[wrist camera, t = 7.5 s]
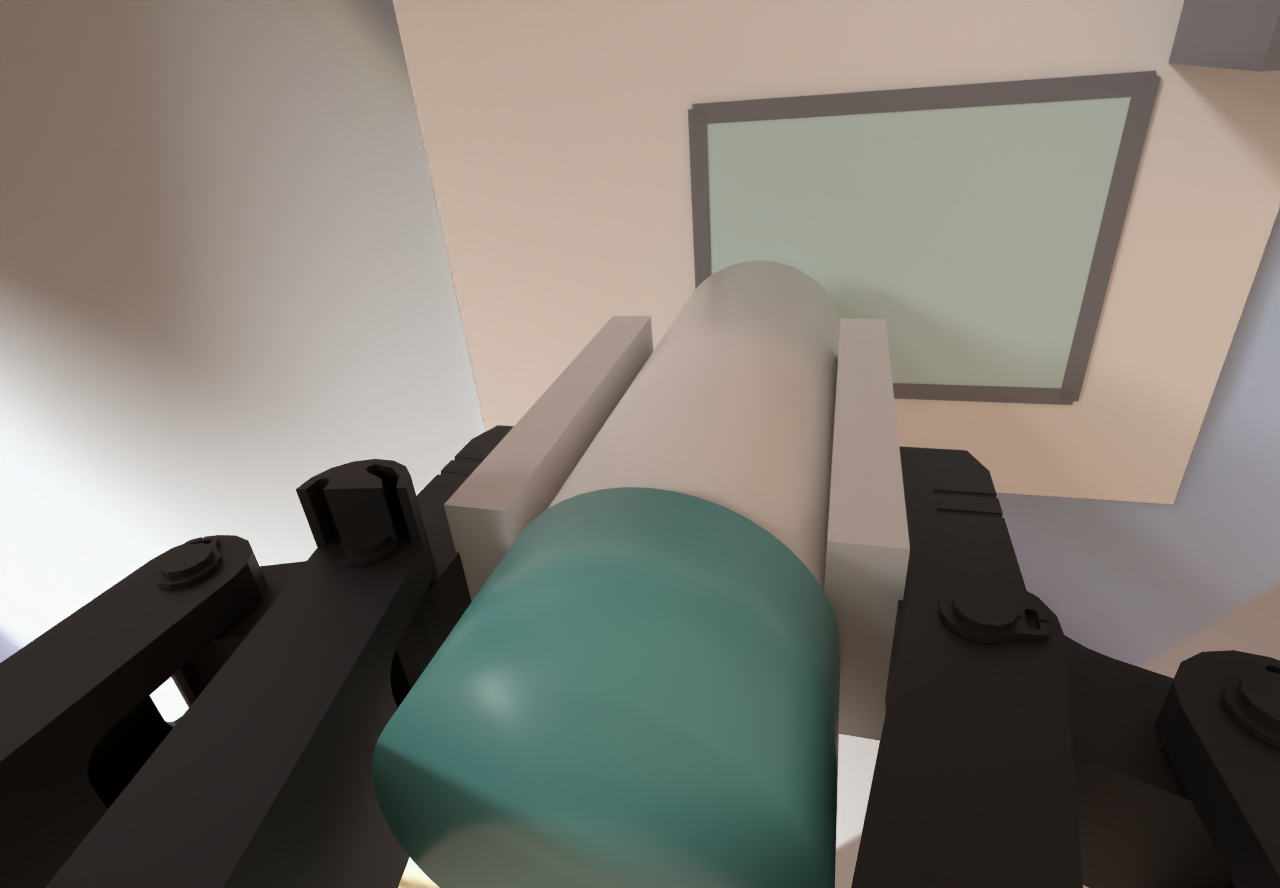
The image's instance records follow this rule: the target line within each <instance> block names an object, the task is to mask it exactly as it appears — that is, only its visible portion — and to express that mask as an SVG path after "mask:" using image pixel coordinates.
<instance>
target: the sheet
mask: <svg viewBox="0 0 1280 888" xmlns="http://www.w3.org/2000/svg"><path fill="white" fill-rule="evenodd" d="M1183 4H1184V0H393V5H394V10H395V14H396V19H397V24H398V28H399V33H400V38H401V42H402V47H403V51H404V56H405V61H406V65H407V70H408V75H409V79H410V84H411V88H412V93H413V98H414V102H415V107H416V112H417V116H418V121H419V126H420V130H421V135H422V139H423V144H424V149H425V153H426V158H427V163H428V167H429V172H430V177H431V181H432V186H433V190H434V195H435V200H436V204H437V209H438V214H439V218H440V223H441V227H442V232H443V237H444V241H445V246H446V251H447V255H448V260H449V265H450V269H451V274H452V278H453V283H454V288H455V292H456V297H457V302H458V306H459V311H460V315H461V320H462V325H463V329H464V334H465V339H466V343H467V348H468V353H469V357H470V362H471V366H472V371H473V376H474V380H475V385H476V390H477V394H478V399H479V404H480V408H481V413H482V417H483V422H484V427H485V431H488V430H490V429H492V428H493V427H495V426H497V425H501V426H515V425H516V424H517V422H518V421H519V420H520V419H521V418H522V417H523V416H524V415H525V414H526V412H527V411H528V410H529V409H530V408H531V407H532V406H533V405H534V403H535V402H536V401H537V400H538V399H539V398H540V397H541V396H542V395H543V393H544V392H545V391H546V390H547V389H548V388H549V387H550V386H551V384H552V383H553V382H554V381H555V380H556V379H557V378H558V377H559V376H560V374H561V373H562V372H563V371H564V370H565V369H566V368H567V367H568V365H569V364H570V363H571V362H572V361H573V360H574V359H575V358H576V357H577V355H578V354H579V353H580V352H581V351H582V350H583V349H584V348H585V346H586V345H587V344H588V343H589V342H590V341H591V340H592V339H593V338H594V336H595V335H596V334H597V333H598V332H599V331H600V330H601V329H602V328H603V326H604V325H605V324H606V323H607V322H608V321H609V320H610V319H611V317H612V316H651V323H652V337H653V351H654V349H655V348H656V346H657V345H658V343H659V342H660V341H661V339H662V338H663V336H664V335H665V333H666V332H667V330H668V329H669V327H670V326H671V324H672V323H673V321H674V320H675V318H676V317H677V315H678V314H679V312H680V311H681V309H682V308H683V306H684V305H685V303H686V302H687V300H688V299H689V297H690V296H691V294H692V293H693V292H694V291H695V289H696V288H697V287H698V286H699V285H700V284H701V283H702V282H703V281H704V280H706V279H707V278H708V277H709V276H711V275H712V274H714V273H715V272H717V271H719V270H721V269H723V268H725V267H728V266H731V265H733V264H736V263H741V262H746V261H758V260H760V261H773V262H778V263H782V264H785V265H788V266H791V267H794V268H796V269H798V270H800V271H802V272H804V273H805V274H807V275H808V276H810V277H811V278H813V279H814V280H815V281H816V282H817V283H819V284H820V285H821V286H822V287H823V289H824V290H825V291H826V292H827V293H828V294H829V296H830V297H831V299H832V301H833V302H834V304H835V306H836V308H837V310H838V312H839V315H840V318H849V319H886V325H887V334H888V344H889V354H890V363H891V373H892V382H893V392H894V401H895V411H896V420H897V430H898V439H899V446H901V447H918V448H935V449H952V450H967V451H968V452H969V453H970V454H971V455H972V456H974V457H975V458H976V459H977V460H978V461H979V462H980V463H981V464H982V465H983V466H985V467H986V468H987V469H988V470H989V471H990V475H991V478H992V481H993V484H994V487H995V491H996V493H1009V494H1024V495H1039V496H1054V497H1069V498H1084V499H1099V500H1114V501H1129V502H1144V503H1159V504H1174V501H1175V498H1176V495H1177V492H1178V490H1179V487H1180V484H1181V481H1182V478H1183V476H1184V473H1185V470H1186V467H1187V465H1188V462H1189V459H1190V456H1191V453H1192V451H1193V448H1194V445H1195V442H1196V439H1197V437H1198V434H1199V431H1200V428H1201V426H1202V423H1203V420H1204V417H1205V414H1206V412H1207V409H1208V406H1209V403H1210V400H1211V398H1212V395H1213V392H1214V389H1215V387H1216V384H1217V381H1218V378H1219V375H1220V373H1221V370H1222V367H1223V364H1224V361H1225V359H1226V356H1227V353H1228V350H1229V348H1230V345H1231V342H1232V339H1233V336H1234V334H1235V331H1236V328H1237V325H1238V322H1239V320H1240V317H1241V314H1242V311H1243V309H1244V306H1245V303H1246V300H1247V297H1248V295H1249V292H1250V289H1251V286H1252V283H1253V281H1254V278H1255V275H1256V272H1257V270H1258V267H1259V264H1260V261H1261V258H1262V256H1263V253H1264V250H1265V247H1266V244H1267V242H1268V239H1269V236H1270V233H1271V231H1272V228H1273V225H1274V222H1275V219H1276V217H1277V214H1278V211H1279V208H1280V70H1278V71H1263V72H1259V71H1248V70H1236V69H1225V68H1214V67H1202V66H1191V65H1179V64H1168V62H1169V58H1170V55H1171V51H1172V47H1173V43H1174V39H1175V35H1176V31H1177V27H1178V24H1179V20H1180V16H1181V12H1182V8H1183Z"/></svg>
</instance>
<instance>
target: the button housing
mask: <svg viewBox="0 0 1280 888" xmlns="http://www.w3.org/2000/svg"><path fill="white" fill-rule="evenodd" d="M1168 64H1179V65H1191V66H1202V67H1214V68H1225V69H1236V70H1248V71H1259V72H1263V71H1278V70H1280V0H1184V4H1183V8H1182V12H1181V16H1180V20H1179V24H1178V27H1177V31H1176V35H1175V39H1174V43H1173V47H1172V51H1171V55H1170V58H1169V62H1168Z"/></svg>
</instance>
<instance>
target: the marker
mask: <svg viewBox="0 0 1280 888" xmlns="http://www.w3.org/2000/svg"><path fill="white" fill-rule="evenodd" d="M840 321H841V318H840V315H839V312H838V310H837V308H836V306H835V304H834V302H833V301H832V299H831V297H830V296H829V294H828V293H827V292H826V291H825V290H824V289H823V287H822V286H821V285H820V284H819V283H817V282H816V281H815V280H814V279H813V278H811V277H810V276H808V275H807V274H805V273H804V272H802V271H800V270H798V269H796V268H794V267H791V266H788V265H785V264H782V263H778V262H773V261H760V260H758V261H746V262H741V263H736V264H733V265H731V266H728V267H725V268H723V269H721V270H719V271H717V272H715V273H714V274H712V275H711V276H709V277H708V278H707V279H706V280H704V281H703V282H702V283H701V284H700V285H699V286H698V287H697V288H696V289H695V291H694V292H693V293H692V294H691V296H690V297H689V299H688V300H687V302H686V303H685V305H684V306H683V308H682V309H681V311H680V312H679V314H678V315H677V317H676V318H675V320H674V321H673V323H672V324H671V326H670V327H669V329H668V330H667V332H666V333H665V335H664V336H663V338H662V339H661V341H660V342H659V343H658V345H657V346H656V348H655V349H654V351H653V352H652V354H651V355H650V357H649V358H648V360H647V361H646V363H645V364H644V366H643V367H642V369H641V370H640V372H639V373H638V375H637V376H636V378H635V379H634V381H633V382H632V384H631V385H630V387H629V388H628V390H627V391H626V393H625V394H624V396H623V397H622V398H621V400H620V401H619V403H618V404H617V406H616V407H615V409H614V410H613V412H612V413H611V415H610V416H609V418H608V419H607V421H606V422H605V424H604V425H603V427H602V428H601V430H600V431H599V433H598V434H597V436H596V437H595V439H594V440H593V442H592V443H591V445H590V446H589V448H588V449H587V451H586V452H585V454H584V455H583V456H582V458H581V459H580V461H579V462H578V464H577V465H576V467H575V468H574V470H573V471H572V473H571V474H570V476H569V477H568V479H567V480H566V482H565V483H564V485H563V486H562V488H561V489H560V491H559V492H558V494H557V495H556V497H555V498H554V500H553V501H552V503H551V504H550V506H549V507H548V509H546V510H545V511H543V512H542V513H541V514H539V515H538V516H537V517H536V518H534V519H533V520H532V521H531V522H530V523H529V524H528V525H527V526H526V527H525V528H524V529H523V530H522V532H521V533H520V534H519V535H518V536H517V538H516V539H515V541H514V542H513V544H512V545H511V546H510V548H509V549H508V551H507V552H506V554H505V555H504V557H503V558H502V559H501V561H500V562H499V564H498V565H497V567H496V568H495V569H494V571H493V572H492V574H491V575H490V577H489V578H488V580H487V581H486V582H485V584H484V585H483V587H482V588H481V590H480V591H479V592H478V594H477V595H476V597H475V598H474V600H473V601H472V603H471V604H470V605H469V607H468V608H467V610H466V611H465V613H464V614H463V615H462V617H461V618H460V620H459V621H458V623H457V624H456V626H455V627H454V628H453V630H452V631H451V633H450V634H449V636H448V637H447V638H446V640H445V641H444V643H443V644H442V646H441V647H440V649H439V650H438V651H437V653H436V654H435V656H434V657H433V659H432V660H431V661H430V663H429V664H428V666H427V667H426V669H425V670H424V672H423V673H422V674H421V676H420V677H419V679H418V680H417V682H416V683H415V684H414V686H413V687H412V689H411V690H410V692H409V693H408V695H407V696H406V697H405V699H404V700H403V702H402V703H401V705H400V706H399V707H398V709H397V710H396V712H395V713H394V715H393V716H392V717H391V719H390V720H389V722H388V723H387V725H386V726H385V728H384V730H383V731H382V733H381V735H380V737H379V738H378V740H377V744H376V747H375V750H374V754H373V762H372V777H373V784H374V791H375V794H376V797H377V800H378V803H379V807H380V809H381V811H382V813H383V815H384V818H385V820H386V822H387V824H388V826H389V827H390V829H391V831H392V832H393V834H394V835H395V837H396V838H397V840H398V842H399V843H400V845H401V846H402V847H403V848H404V850H405V851H406V852H407V853H408V855H409V856H410V857H411V858H412V860H413V861H414V862H415V863H416V864H417V865H418V866H419V867H420V868H421V869H422V871H423V872H424V873H425V874H426V875H427V876H428V877H429V878H430V879H431V880H432V881H433V882H434V883H436V884H437V885H438V886H439V887H440V888H835V855H836V816H837V777H838V738H839V699H840V636H839V631H838V625H837V621H836V618H835V616H834V613H833V610H832V607H831V604H830V602H829V600H828V599H827V597H826V595H825V593H824V584H825V567H826V551H827V534H828V518H829V501H830V484H831V468H832V451H833V434H834V418H835V401H836V385H837V368H838V352H839V336H840Z"/></svg>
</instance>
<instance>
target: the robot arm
mask: <svg viewBox="0 0 1280 888" xmlns="http://www.w3.org/2000/svg"><path fill="white" fill-rule="evenodd" d="M652 352H653V337H652V323H651V316H612V317H611V319H610V320H609V321H608V322H607V323H606V324H605V325H604V326H603V328H602V329H601V330H600V331H599V332H598V333H597V334H596V335H595V336H594V338H593V339H592V340H591V341H590V342H589V343H588V344H587V345H586V346H585V348H584V349H583V350H582V351H581V352H580V353H579V354H578V355H577V357H576V358H575V359H574V360H573V361H572V362H571V363H570V364H569V365H568V367H567V368H566V369H565V370H564V371H563V372H562V373H561V374H560V376H559V377H558V378H557V379H556V380H555V381H554V382H553V383H552V384H551V386H550V387H549V388H548V389H547V390H546V391H545V392H544V393H543V395H542V396H541V397H540V398H539V399H538V400H537V401H536V402H535V403H534V405H533V406H532V407H531V408H530V409H529V410H528V411H527V412H526V414H525V415H524V416H523V417H522V418H521V419H520V420H519V421H518V422H517V424H516V425H515V426H501V425H497V426H495V427H493V428H492V429H490V430H488V431H486V432H484V433H483V434H481V435H479V436H477V437H475V438H473V439H472V440H471V441H470V442H469V443H468V444H467V445H466V446H465V447H464V448H463V449H462V450H461V451H460V452H459V453H458V454H457V455H456V456H455V460H451V461H450V462H449V463H448V464H447V465H446V466H445V467H444V468H443V469H442V470H441V475H437V476H436V477H435V478H434V479H433V480H432V481H431V482H430V483H429V484H428V485H427V486H426V487H425V488H424V489H423V490H422V491H421V492H420V493H419V494H418V495H417V496H416V494H415V490H414V486H413V483H412V479H411V476H410V474H409V472H408V470H407V468H406V466H404V465H402V464H399V463H397V462H395V461H391V460H380V459H372V460H363V461H355V462H351V463H347V464H344V465H340V466H337V467H334V468H331V469H329V470H326V471H324V472H322V473H320V474H318V475H316V476H314V477H312V478H310V479H309V480H308V481H306V482H305V483H304V484H303V485H301V486H300V487H299V488H297V489H296V491H297V494H298V496H299V499H300V502H301V504H302V507H303V510H304V512H305V515H306V518H307V520H308V523H309V526H310V528H311V531H312V534H313V536H314V539H315V542H316V544H317V547H318V548H317V549H316V550H315V552H314V553H313V554H312V555H311V557H310V558H309V559H308V560H307V561H304V562H296V563H287V564H278V565H269V566H260V567H259V565H258V562H257V560H256V558H255V555H254V553H253V551H252V548H251V546H250V544H249V542H248V540H245V539H243V538H240V537H238V536H229V535H216V536H208V537H204V538H202V537H201V538H197V539H193V540H190V541H188V542H186V543H185V544H182V545H180V546H177V547H174V548H172V549H170V550H168V551H167V552H165V553H163V554H161V555H159V556H158V557H156V558H154V559H152V560H151V561H149V562H148V563H146V564H145V565H143V566H142V567H140V568H139V569H137V570H136V571H134V572H133V573H132V574H130V575H129V576H127V577H126V578H124V579H123V580H121V581H120V582H118V583H117V584H115V585H114V586H113V587H111V588H110V589H108V590H107V591H105V592H104V593H102V594H101V595H99V596H98V597H96V598H95V599H94V600H92V601H91V602H89V603H88V604H86V605H85V606H83V607H82V608H80V609H79V610H77V611H76V612H75V613H73V614H72V615H70V616H69V617H67V618H66V619H64V620H63V621H61V622H60V623H58V624H57V625H56V626H54V627H53V628H51V629H50V630H48V631H47V632H45V633H44V634H42V635H41V636H39V637H38V638H37V639H35V640H34V641H32V642H31V643H29V644H28V645H26V646H25V647H23V648H22V649H20V650H19V651H18V652H16V653H15V654H13V655H12V656H10V657H9V658H7V659H6V660H4V661H3V662H1V663H0V888H398V886H399V883H400V880H401V878H402V875H403V872H404V870H405V867H406V864H407V862H408V859H409V855H408V853H407V852H406V851H405V850H404V848H403V847H402V846H401V845H400V843H399V842H398V840H397V838H396V837H395V835H394V834H393V832H392V831H391V829H390V827H389V826H388V824H387V822H386V820H385V818H384V815H383V813H382V811H381V809H380V807H379V803H378V800H377V797H376V794H375V791H374V784H373V777H372V762H373V754H374V750H375V747H376V744H377V740H378V738H379V737H380V735H381V733H382V731H383V730H384V728H385V726H386V725H387V723H388V722H389V720H390V719H391V717H392V716H393V715H394V713H395V712H396V710H397V709H398V707H399V706H400V705H401V703H402V702H403V700H404V699H405V697H406V696H407V695H408V693H409V692H410V690H411V689H412V687H413V686H414V684H415V683H416V682H417V680H418V679H419V677H420V676H421V674H422V673H423V672H424V670H425V669H426V667H427V666H428V664H429V663H430V661H431V660H432V659H433V657H434V656H435V654H436V653H437V651H438V650H439V649H440V647H441V646H442V644H443V643H444V641H445V640H446V638H447V637H448V636H449V634H450V633H451V631H452V630H453V628H454V627H455V626H456V624H457V623H458V621H459V620H460V618H461V617H462V615H463V614H464V613H465V611H466V610H467V608H468V607H469V605H470V604H471V603H472V601H473V600H474V598H475V597H476V595H477V594H478V592H479V591H480V590H481V588H482V587H483V585H484V584H485V582H486V581H487V580H488V578H489V577H490V575H491V574H492V572H493V571H494V569H495V568H496V567H497V565H498V564H499V562H500V561H501V559H502V558H503V557H504V555H505V554H506V552H507V551H508V549H509V548H510V546H511V545H512V544H513V542H514V541H515V539H516V538H517V536H518V535H519V534H520V533H521V532H522V530H523V529H524V528H525V527H526V526H527V525H528V524H529V523H530V522H531V521H532V520H533V519H534V518H536V517H537V516H538V515H539V514H541V513H542V512H543V511H545V510H546V509H548V507H549V506H550V504H551V503H552V501H553V500H554V498H555V497H556V495H557V494H558V492H559V491H560V489H561V488H562V486H563V485H564V483H565V482H566V480H567V479H568V477H569V476H570V474H571V473H572V471H573V470H574V468H575V467H576V465H577V464H578V462H579V461H580V459H581V458H582V456H583V455H584V454H585V452H586V451H587V449H588V448H589V446H590V445H591V443H592V442H593V440H594V439H595V437H596V436H597V434H598V433H599V431H600V430H601V428H602V427H603V425H604V424H605V422H606V421H607V419H608V418H609V416H610V415H611V413H612V412H613V410H614V409H615V407H616V406H617V404H618V403H619V401H620V400H621V398H622V397H623V396H624V394H625V393H626V391H627V390H628V388H629V387H630V385H631V384H632V382H633V381H634V379H635V378H636V376H637V375H638V373H639V372H640V370H641V369H642V367H643V366H644V364H645V363H646V361H647V360H648V358H649V357H650V355H651V354H652ZM824 593H825V595H826V597H827V599H828V600H829V602H830V604H831V607H832V610H833V613H834V616H835V618H836V621H837V625H838V631H839V636H840V699H839V734H845V735H851V736H857V737H863V738H869V739H875V740H880V744H879V749H878V755H877V760H876V765H875V770H874V775H873V780H872V785H871V790H870V795H869V800H868V806H867V811H866V816H865V821H864V826H863V831H862V836H861V841H860V846H859V851H858V857H857V862H856V867H855V872H854V877H853V882H852V887H851V888H1083V885H1085V886H1087V887H1089V888H1280V661H1279V660H1276V659H1273V658H1271V657H1265V656H1260V655H1255V654H1249V653H1244V652H1239V651H1234V650H1232V651H1212V652H1201V653H1199V654H1197V655H1195V656H1193V657H1191V658H1189V659H1187V660H1185V661H1183V662H1181V664H1180V666H1179V669H1178V671H1177V673H1176V675H1175V677H1174V679H1173V678H1170V677H1167V676H1164V675H1161V674H1158V673H1155V672H1152V671H1149V670H1146V669H1143V668H1140V667H1137V666H1134V665H1131V664H1128V663H1125V662H1122V661H1119V660H1116V659H1113V658H1110V657H1108V656H1105V655H1103V654H1100V653H1098V652H1095V651H1093V650H1090V649H1088V648H1086V647H1084V646H1082V645H1081V644H1079V643H1077V642H1075V641H1073V640H1072V639H1070V638H1068V637H1066V636H1065V635H1064V634H1063V631H1062V629H1061V626H1060V623H1059V621H1058V618H1057V616H1056V615H1055V614H1054V613H1053V612H1052V611H1051V610H1050V609H1049V608H1048V607H1047V606H1046V605H1045V604H1044V603H1043V602H1042V601H1041V600H1040V599H1039V598H1038V597H1036V596H1035V595H1033V594H1031V593H1029V592H1028V591H1026V588H1025V584H1024V581H1023V578H1022V575H1021V571H1020V568H1019V565H1018V562H1017V558H1016V555H1015V552H1014V549H1013V546H1012V542H1011V539H1010V536H1009V533H1008V529H1007V526H1006V523H1005V520H1004V518H1002V510H1001V507H1000V504H999V500H998V499H997V498H996V491H995V487H994V484H993V481H992V478H991V475H990V471H989V470H988V469H987V468H986V467H985V466H983V465H982V464H981V463H980V462H979V461H978V460H977V459H976V458H975V457H974V456H972V455H971V454H970V453H969V452H968V451H967V450H952V449H935V448H918V447H901V446H899V439H898V430H897V420H896V411H895V401H894V392H893V382H892V373H891V363H890V354H889V344H888V334H887V325H886V319H849V318H841V321H840V336H839V352H838V368H837V385H836V401H835V418H834V434H833V451H832V468H831V484H830V501H829V518H828V534H827V551H826V567H825V584H824ZM170 677H172V678H173V680H174V682H175V684H176V685H177V687H178V689H179V691H180V692H181V694H182V696H183V698H184V699H185V701H186V703H187V705H188V707H189V709H188V710H187V711H186V713H185V714H184V715H183V716H182V717H181V718H179V719H177V720H176V721H174V722H166V721H164V719H163V718H162V716H161V714H160V713H159V711H158V709H157V708H156V706H155V704H154V703H153V701H152V699H151V698H150V696H149V695H150V694H151V693H152V692H153V691H155V690H156V689H157V688H158V687H159V686H160V685H162V684H163V683H164V682H165V681H166V680H167V679H169V678H170Z"/></svg>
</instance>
